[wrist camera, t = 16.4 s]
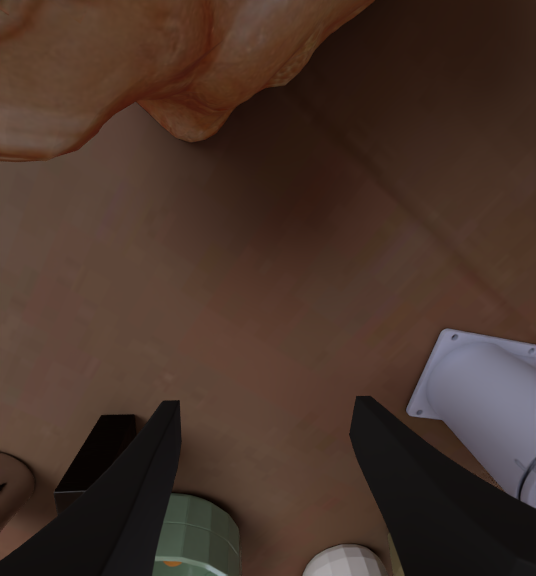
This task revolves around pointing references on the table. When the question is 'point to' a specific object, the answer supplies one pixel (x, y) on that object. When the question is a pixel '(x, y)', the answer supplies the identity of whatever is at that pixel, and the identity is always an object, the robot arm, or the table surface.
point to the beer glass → (13, 487)
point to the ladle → (95, 457)
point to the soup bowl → (197, 540)
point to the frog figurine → (146, 63)
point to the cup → (346, 562)
